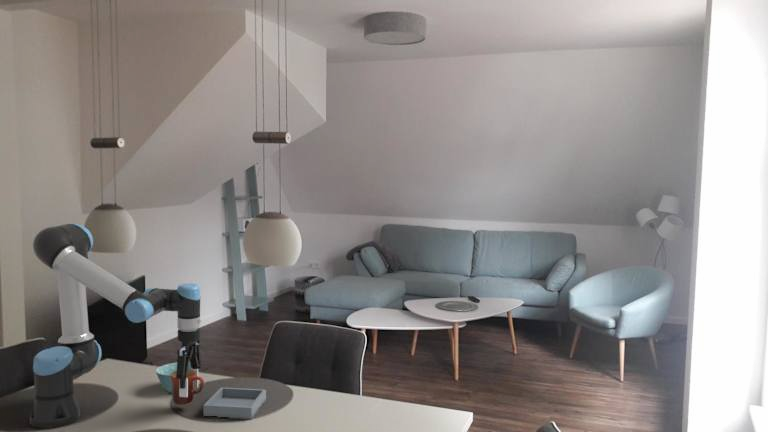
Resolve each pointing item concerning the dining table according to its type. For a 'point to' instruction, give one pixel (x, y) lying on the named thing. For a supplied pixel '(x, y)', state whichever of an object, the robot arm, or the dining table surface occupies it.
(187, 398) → the mug
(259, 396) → the tray
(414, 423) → the dining table surface
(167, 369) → the bowl
